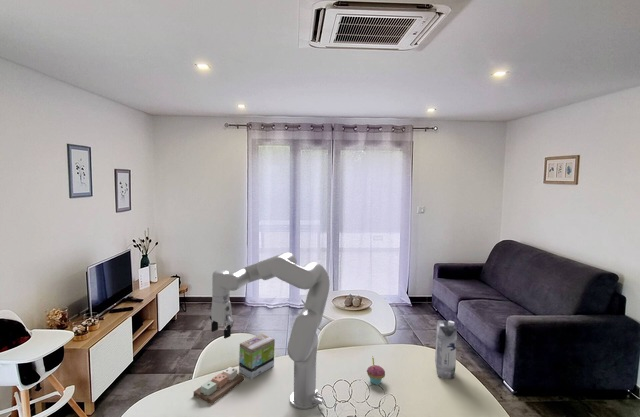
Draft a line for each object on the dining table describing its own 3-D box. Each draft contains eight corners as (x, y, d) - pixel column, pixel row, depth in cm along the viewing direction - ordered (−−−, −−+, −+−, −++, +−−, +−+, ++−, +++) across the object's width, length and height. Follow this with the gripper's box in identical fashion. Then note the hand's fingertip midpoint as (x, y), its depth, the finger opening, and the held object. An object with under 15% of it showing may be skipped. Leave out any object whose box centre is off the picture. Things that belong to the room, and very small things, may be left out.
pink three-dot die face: (227, 382, 152) (227, 376, 152) (219, 387, 148) (219, 381, 148) (220, 379, 154) (219, 373, 154) (212, 384, 150) (212, 378, 150)
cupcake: (364, 383, 157) (364, 358, 156) (370, 374, 164) (370, 350, 163) (381, 388, 153) (382, 363, 152) (387, 379, 160) (388, 355, 159)
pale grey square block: (216, 390, 146) (216, 383, 146) (208, 395, 142) (208, 388, 142) (209, 386, 148) (209, 380, 148) (200, 392, 144) (200, 385, 144)
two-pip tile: (237, 375, 158) (237, 369, 157) (230, 380, 154) (230, 373, 153) (230, 372, 160) (230, 366, 160) (223, 377, 156) (223, 371, 156)
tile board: (244, 380, 157) (244, 376, 157) (211, 404, 140) (211, 399, 140) (227, 373, 163) (227, 369, 162) (193, 395, 145) (193, 391, 145)
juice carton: (436, 378, 162) (438, 324, 160) (434, 366, 172) (436, 316, 170) (455, 380, 160) (458, 326, 158) (452, 369, 170) (455, 317, 168)
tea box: (252, 379, 158) (252, 349, 157) (238, 372, 164) (238, 343, 163) (274, 366, 170) (275, 338, 169) (261, 359, 176) (261, 332, 175)
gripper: (239, 300, 149) (239, 337, 150) (217, 291, 159) (216, 325, 161) (225, 304, 143) (225, 343, 144) (202, 295, 154) (203, 331, 155)
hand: (220, 334), depth 152 cm, fingers open, 9 cm apart
